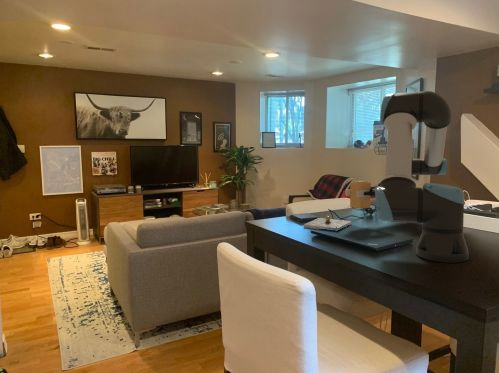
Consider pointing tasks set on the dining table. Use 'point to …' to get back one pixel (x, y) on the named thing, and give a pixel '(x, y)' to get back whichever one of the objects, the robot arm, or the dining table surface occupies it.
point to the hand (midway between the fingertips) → (351, 193)
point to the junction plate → (326, 223)
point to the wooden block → (359, 201)
